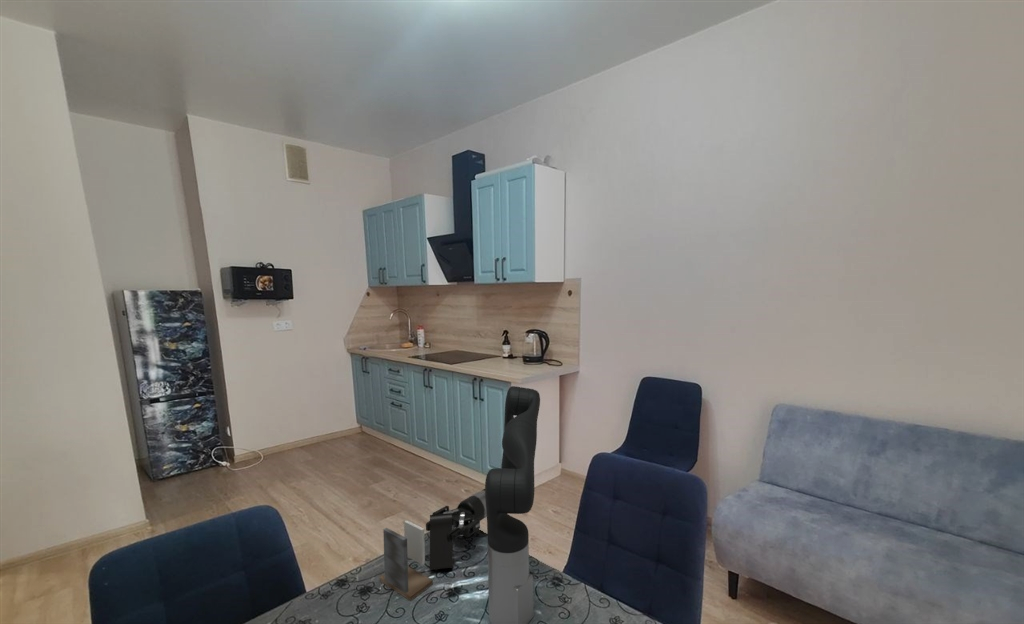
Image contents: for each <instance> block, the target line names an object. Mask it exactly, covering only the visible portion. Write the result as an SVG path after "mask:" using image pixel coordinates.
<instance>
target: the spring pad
mask: <svg viewBox="0 0 1024 624" xmlns="http://www.w3.org/2000/svg"><path fill="white" fill-rule="evenodd" d="M403 530H404V531H403V533H404V534H403V535H404V537H405V538H407V555H408V558H409V559H411V560H412V561H414V562H417V563H419V564H420V565H421V566H424V565H425V564H426V550H425V549H426V547H425V543H426V542H425V528H424V527H421V526H420V525H418V524H415V523H414V522H412V521H410V520H407V519H405V521H404V522H403Z"/></svg>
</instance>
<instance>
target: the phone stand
mask: <svg viewBox="0 0 1024 624" xmlns="http://www.w3.org/2000/svg"><path fill="white" fill-rule="evenodd" d="M429 521H430V531H429V570H431V571H432V570H440V569H448V568H449V569H450V568H453V567H454V566H453V565H454V557H453V556H454V550H453V549H454V547H453V544H454V543H453V540H450V542H449V541H448V540H447V534H448V533H449V532H450V531H452V530H453V526H452V513H447V514H436V515H432V514H430V515H429Z"/></svg>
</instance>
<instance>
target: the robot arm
mask: <svg viewBox="0 0 1024 624" xmlns="http://www.w3.org/2000/svg"><path fill="white" fill-rule="evenodd" d="M540 407H541V396H540V393H539V391H538V390H536V389H534V388H528V387H522V386H513V385H512V386H510V387H509V388H508V390H507V393H506V396H505V404H504V420H503V421H504V422H503V425H504V426H503V428H504V429H503V435H502V439H501V447H502V450H503V451H502V457H501V465H500V466H501V467H500V468H499V467H497V468H496V467H495V468H491V469H489V470H488V472H487V473H486V475H485V482H484V489H482V490H480V491H478V492H475V493H474V494H472V495H470V496H468V497H467V498H465V499H464V500H462V501H460V502H459V503H458V505H457V507H456V508H453V509H450V506H449V505H445V506H443V507H441V508H440V509H437V510H436V511H434V512H432V514H431V515H436V514H447V513H452V527H454V528H452V531H450V532H449V533H448V534H447V540H448V541H449V542H450V540H452V541H454V540H455V539H457V538H458V537H463V536H464V537H465V538H470V536H472V535H473V534H474V533H476V532H477V531H478V530H479V529H480V528H481V521H483V519H486V529H487V530H486V531H487V572H488V573H487V575H488V576H487V580H488V581H487V583H488V584H487V585H488V586H487V587H488V619H489V622H490V624H528V623H529V622H530V621H531V620H532V619H533V618H534V615H535V613H534V611H535V609H534V575H533V574H531V573H530V554H529V553H530V550H529V549H530V547H529V544H530V543H529V539H530V538H529V529H528V527H527V525H526V524H525V523H524V522H523V521H522V520H520V519H518V518H516V517H513V516H512V515H523V514H528V513H529V512H530V511H531V510H532V508H533V505H534V500H535V457H536V450H537V439H538V419H539V418H538V416H539V411H540ZM510 514H512V515H510ZM425 531H426V532H430V520H429V521H427V522H426V523H425Z"/></svg>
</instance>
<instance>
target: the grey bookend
mask: <svg viewBox="0 0 1024 624" xmlns="http://www.w3.org/2000/svg"><path fill="white" fill-rule="evenodd" d="M382 533H383V563H384V564H383V565H384V566H383V567H384V569H383V570H384V574H383V575H381V576H380V577H379V581H380V582H381V583H383V584H384V585H385V586H387V587H389V588H390V589H392V590H394V591H395V592H396V593H397V594H399V595H400V596H401V597H404V598H405V599H407V600H408V601H409V602H411V601H412V600H414V599H415V598H417V597H418V596H419V595H421V594H422V593H423V592H424V591H426V590H428V588H430V587H431V586H432V585H433V584H434V580H433V579H431V578H429V577H428V576H427V575H424V574H423V573H421V572H419V571H417V570H416V569H414V568H412V567H411V566H409V563H408V561H409V560H408V558H409V557H408V555H407V538H405V537H404V536H403V535H401V534H400V533H398V532H396V531H394V530H392V529H390V528H388V527H385V528H384V529H383V532H382Z"/></svg>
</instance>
